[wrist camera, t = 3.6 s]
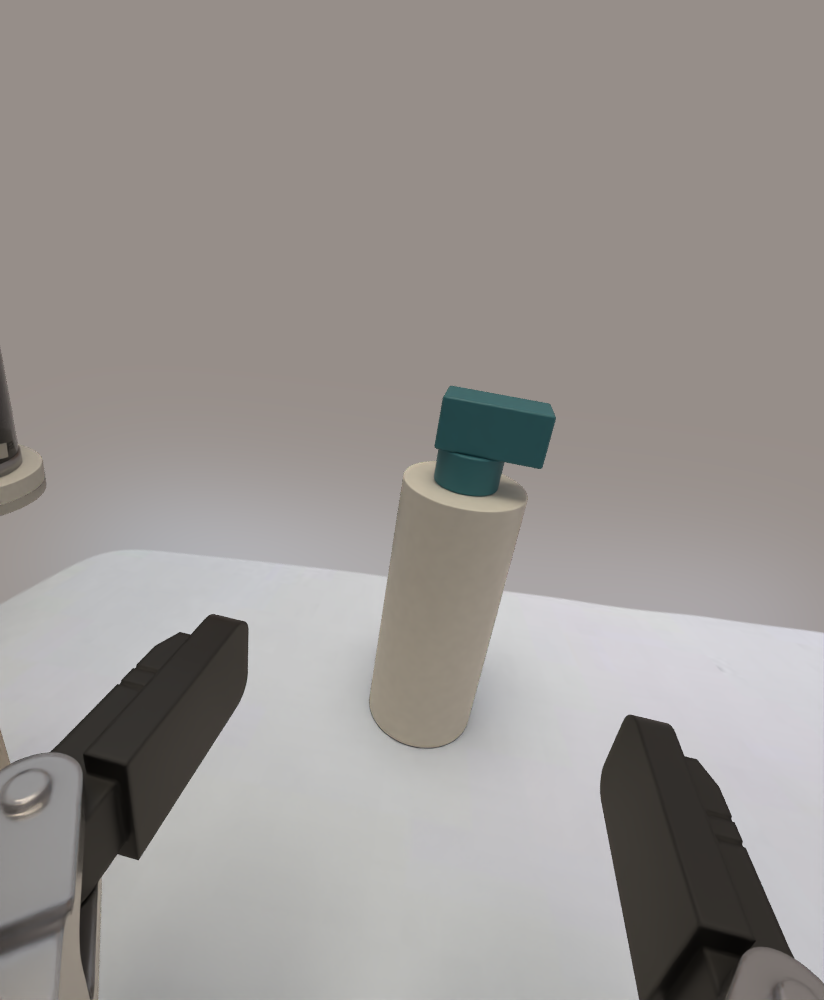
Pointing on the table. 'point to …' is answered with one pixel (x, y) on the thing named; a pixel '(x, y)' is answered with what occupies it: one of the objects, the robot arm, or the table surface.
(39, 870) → the robot arm
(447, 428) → the spray bottle
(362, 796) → the table surface
